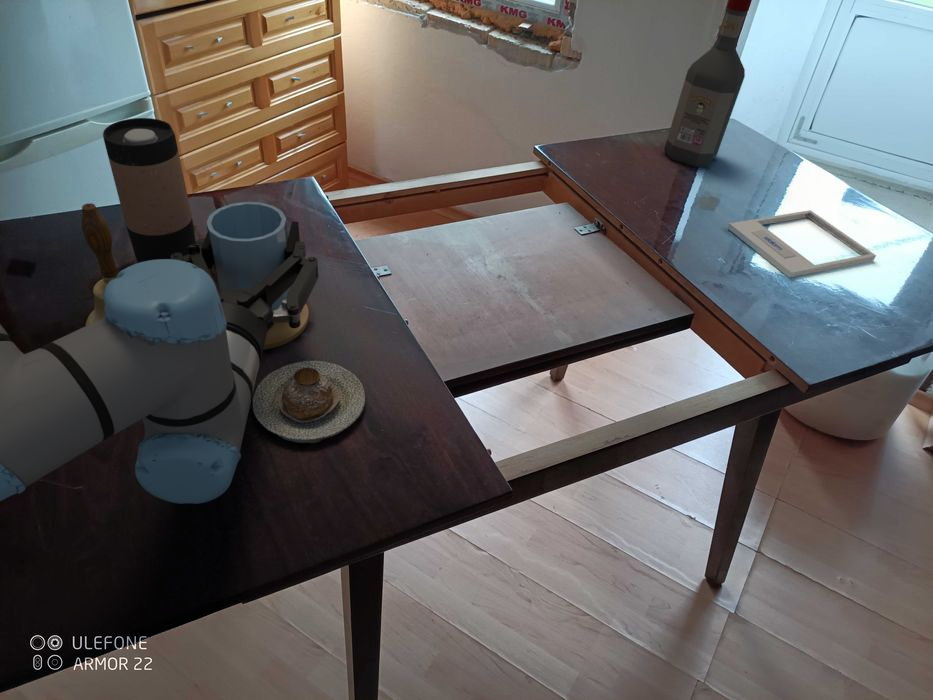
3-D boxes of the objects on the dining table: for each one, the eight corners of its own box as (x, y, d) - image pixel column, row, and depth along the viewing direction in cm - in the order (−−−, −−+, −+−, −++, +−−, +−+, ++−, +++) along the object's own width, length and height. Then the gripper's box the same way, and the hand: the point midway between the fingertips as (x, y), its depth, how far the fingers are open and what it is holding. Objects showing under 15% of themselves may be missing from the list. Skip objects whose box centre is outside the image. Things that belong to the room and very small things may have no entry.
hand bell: (173, 326, 83) (144, 209, 72) (103, 354, 78) (62, 233, 68) (143, 293, 87) (111, 178, 77) (74, 317, 82) (31, 199, 72)
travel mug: (128, 285, 88) (85, 136, 75) (164, 255, 94) (131, 112, 81) (180, 299, 87) (146, 151, 74) (214, 268, 92) (188, 125, 79)
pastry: (232, 399, 75) (226, 368, 72) (323, 354, 82) (321, 324, 79) (295, 465, 69) (291, 434, 66) (387, 410, 76) (388, 379, 73)
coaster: (187, 328, 83) (186, 323, 82) (252, 279, 91) (251, 275, 91) (268, 363, 80) (267, 358, 79) (327, 309, 88) (327, 304, 88)
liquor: (705, 171, 130) (765, -1, 110) (659, 156, 133) (710, -13, 113) (718, 155, 136) (777, -10, 116) (674, 141, 139) (724, -22, 119)
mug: (287, 315, 80) (280, 242, 74) (213, 313, 79) (199, 239, 73) (298, 260, 89) (292, 191, 82) (231, 258, 88) (220, 187, 81)
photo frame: (729, 222, 113) (810, 209, 119) (727, 228, 114) (808, 214, 120) (792, 271, 103) (876, 254, 109) (789, 277, 104) (873, 260, 110)
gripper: (113, 381, 67) (171, 253, 84) (334, 384, 69) (347, 259, 86) (92, 321, 62) (158, 198, 79) (331, 327, 64) (345, 206, 81)
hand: (257, 230), depth 82 cm, fingers closed on mug, 8 cm apart
